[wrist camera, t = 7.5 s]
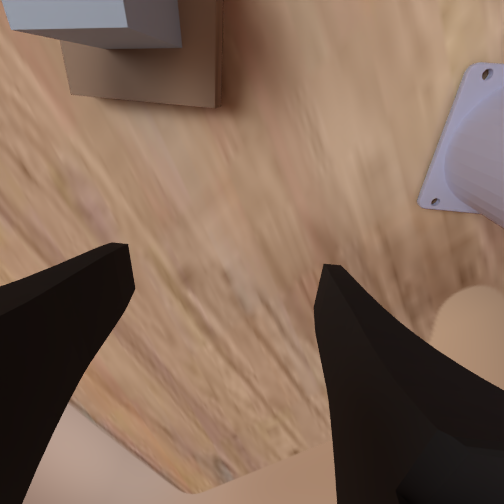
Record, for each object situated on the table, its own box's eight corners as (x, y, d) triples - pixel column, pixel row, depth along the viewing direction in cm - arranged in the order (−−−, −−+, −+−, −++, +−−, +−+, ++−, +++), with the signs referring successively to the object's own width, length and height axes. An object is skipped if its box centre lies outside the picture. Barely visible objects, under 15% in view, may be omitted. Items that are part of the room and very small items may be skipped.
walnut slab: (227, -82, 14) (217, -112, 12) (222, 105, 18) (214, 108, 16) (64, -93, 14) (25, -125, 12) (95, 93, 18) (70, 94, 16)
